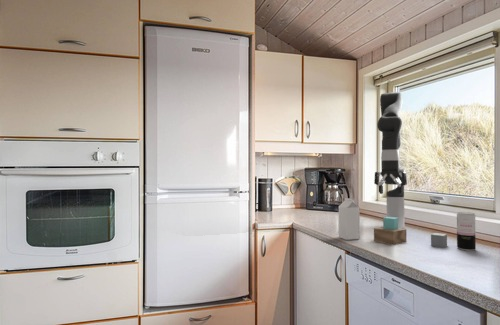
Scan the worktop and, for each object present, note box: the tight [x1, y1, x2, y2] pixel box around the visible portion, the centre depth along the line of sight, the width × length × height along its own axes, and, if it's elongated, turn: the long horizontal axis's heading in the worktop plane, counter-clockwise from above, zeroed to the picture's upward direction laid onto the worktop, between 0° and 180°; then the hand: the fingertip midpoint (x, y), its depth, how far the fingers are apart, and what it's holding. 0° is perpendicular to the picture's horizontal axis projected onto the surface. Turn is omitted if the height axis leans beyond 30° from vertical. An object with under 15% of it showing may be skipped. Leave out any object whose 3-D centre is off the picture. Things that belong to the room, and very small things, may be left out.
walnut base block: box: [373, 226, 407, 246], centre depth 160 cm, size 10×10×6 cm
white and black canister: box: [456, 211, 477, 252], centre depth 145 cm, size 7×6×15 cm
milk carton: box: [338, 197, 361, 241], centre depth 167 cm, size 7×7×19 cm
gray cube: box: [430, 232, 448, 248], centre depth 151 cm, size 5×5×5 cm
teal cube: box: [382, 216, 398, 230], centre depth 161 cm, size 5×5×5 cm
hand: (390, 194), depth 164 cm, fingers open, 8 cm apart
